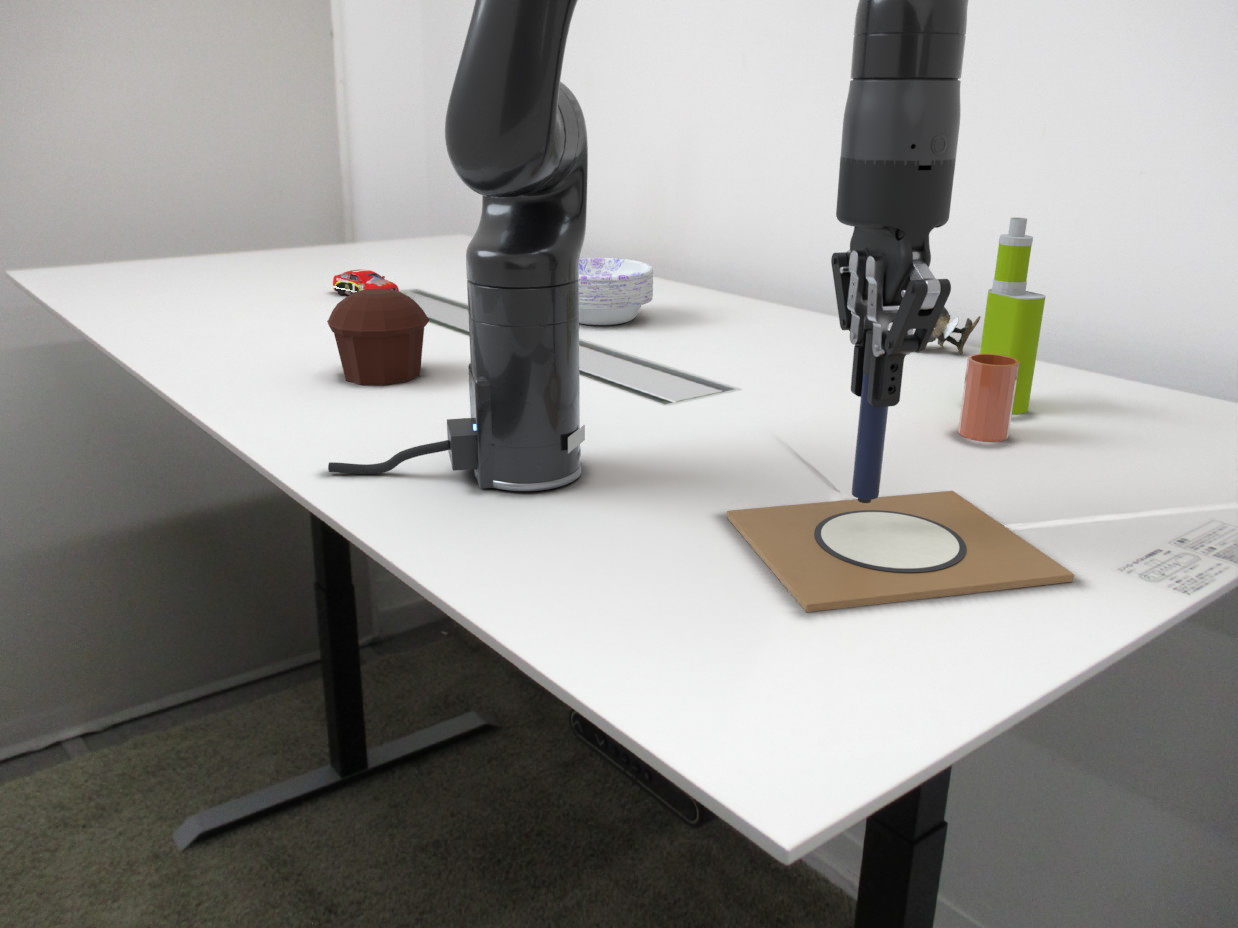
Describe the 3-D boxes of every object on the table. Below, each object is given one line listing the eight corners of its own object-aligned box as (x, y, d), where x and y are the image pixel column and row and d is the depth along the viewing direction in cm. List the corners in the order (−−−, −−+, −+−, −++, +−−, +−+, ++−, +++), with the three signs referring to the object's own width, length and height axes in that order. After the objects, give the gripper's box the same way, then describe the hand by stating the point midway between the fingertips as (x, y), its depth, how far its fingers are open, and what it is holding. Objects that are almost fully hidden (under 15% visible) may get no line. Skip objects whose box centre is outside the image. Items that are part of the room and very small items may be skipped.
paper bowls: (594, 336, 139) (594, 278, 136) (529, 317, 150) (527, 264, 147) (674, 320, 149) (675, 266, 146) (606, 304, 159) (607, 254, 156)
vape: (990, 400, 111) (1016, 215, 104) (1033, 415, 106) (1064, 222, 99) (965, 405, 110) (990, 217, 103) (1008, 420, 105) (1037, 223, 98)
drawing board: (806, 612, 66) (807, 602, 66) (726, 517, 80) (726, 508, 80) (1073, 581, 70) (1075, 572, 70) (951, 496, 85) (952, 488, 85)
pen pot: (974, 447, 96) (985, 367, 94) (948, 432, 101) (958, 355, 98) (1016, 444, 97) (1029, 364, 95) (989, 429, 102) (1000, 352, 99)
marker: (857, 507, 75) (875, 336, 71) (845, 497, 77) (861, 330, 73) (883, 505, 76) (902, 335, 71) (870, 494, 78) (888, 328, 73)
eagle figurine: (978, 338, 134) (915, 317, 138) (983, 300, 128) (917, 279, 133) (952, 377, 131) (889, 354, 135) (956, 339, 126) (890, 317, 130)
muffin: (312, 382, 116) (303, 296, 113) (366, 359, 126) (359, 279, 123) (401, 392, 113) (395, 304, 109) (450, 368, 122) (445, 286, 119)
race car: (405, 299, 163) (404, 274, 161) (378, 304, 159) (376, 278, 157) (356, 288, 171) (354, 264, 169) (329, 293, 167) (326, 268, 165)
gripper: (804, 147, 73) (789, 378, 79) (896, 159, 60) (870, 433, 66) (898, 146, 75) (877, 372, 81) (1007, 158, 62) (972, 425, 68)
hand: (874, 399), depth 74 cm, fingers closed on marker, 2 cm apart
